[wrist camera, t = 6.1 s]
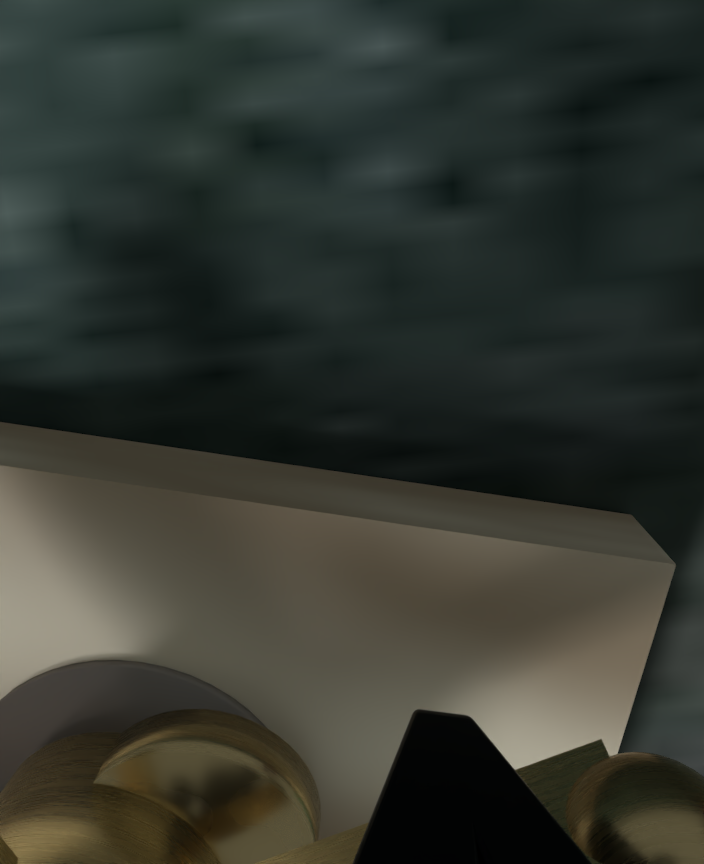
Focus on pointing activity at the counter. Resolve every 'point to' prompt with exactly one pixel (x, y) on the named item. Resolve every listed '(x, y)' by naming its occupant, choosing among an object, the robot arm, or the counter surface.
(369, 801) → the latch board
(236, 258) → the counter surface
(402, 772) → the robot arm
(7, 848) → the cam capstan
